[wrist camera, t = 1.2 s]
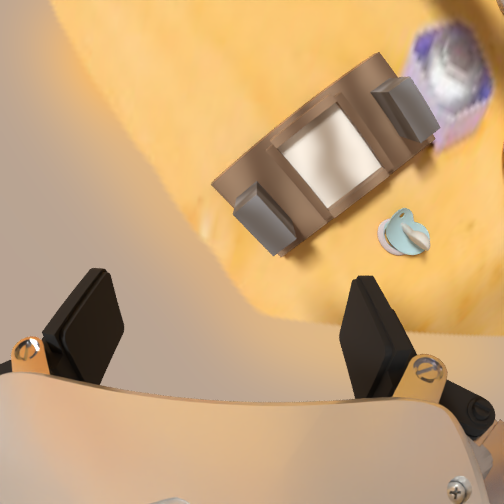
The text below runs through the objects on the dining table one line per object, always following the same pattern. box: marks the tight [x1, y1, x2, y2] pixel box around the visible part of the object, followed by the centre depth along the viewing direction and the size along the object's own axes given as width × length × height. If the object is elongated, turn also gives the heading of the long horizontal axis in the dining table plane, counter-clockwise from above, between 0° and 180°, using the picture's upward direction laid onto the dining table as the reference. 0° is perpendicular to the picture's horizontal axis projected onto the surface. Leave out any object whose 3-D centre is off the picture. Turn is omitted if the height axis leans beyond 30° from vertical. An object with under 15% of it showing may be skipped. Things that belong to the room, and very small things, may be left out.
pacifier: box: [378, 208, 430, 255], centre depth 34 cm, size 7×6×6 cm
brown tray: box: [211, 52, 440, 257], centre depth 29 cm, size 24×12×6 cm, turn 132°
